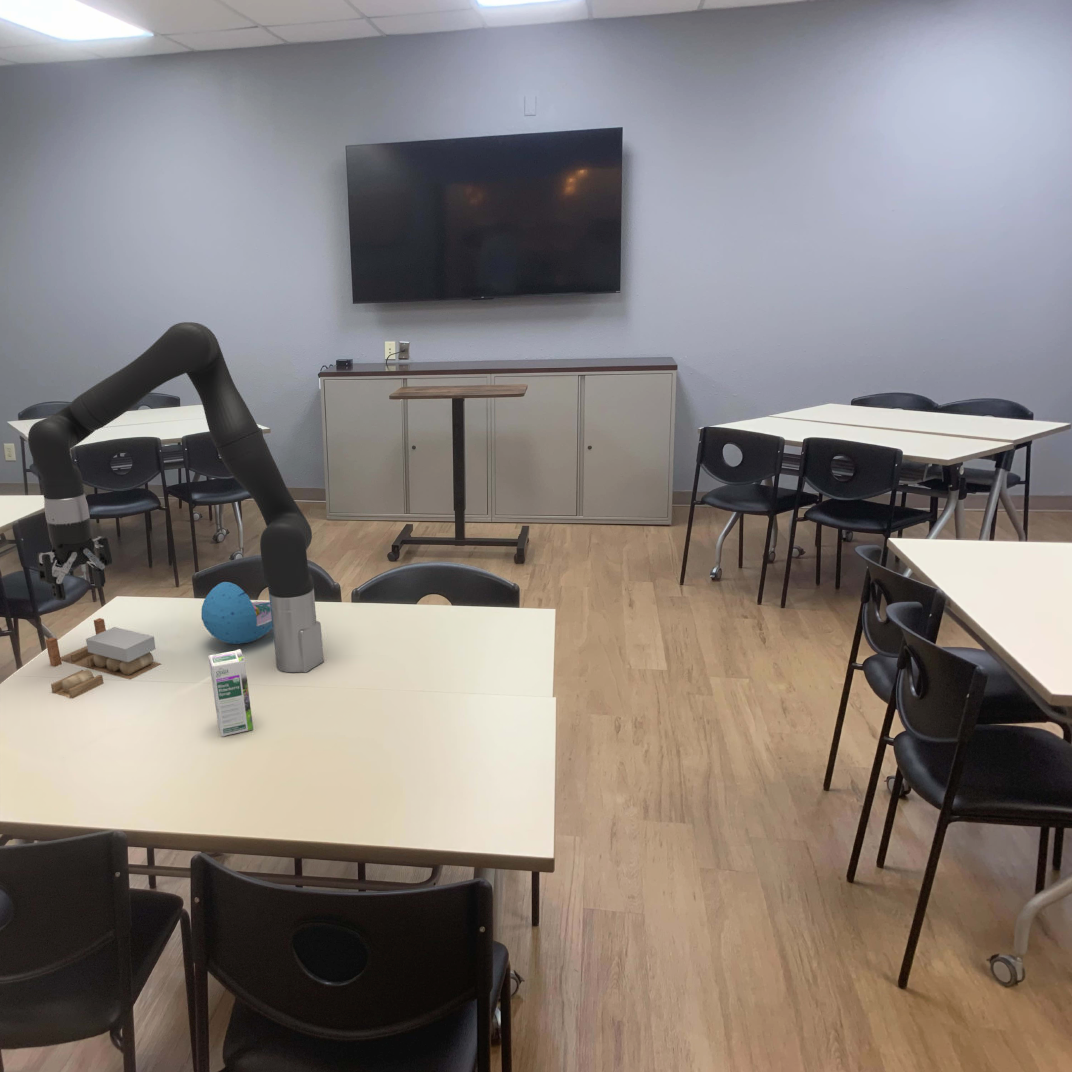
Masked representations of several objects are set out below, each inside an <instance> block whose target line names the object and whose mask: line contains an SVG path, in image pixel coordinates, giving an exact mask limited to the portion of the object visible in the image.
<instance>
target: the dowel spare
mask: <svg viewBox="0 0 1072 1072" xmlns="http://www.w3.org/2000/svg"><path fill="white" fill-rule="evenodd" d="M94 677H95V675H94V674H93V672H92V671H91V669H90V670H89V669H85V670H84V671H82V672H80V673H78V674H76V675H74V676H71V677H69V678H67V679H65V680H63V681H62V688H63V690H64V691H65V692H66V693H68V694H69V690H68V689H71V688H73V687H75V686H77V685H79V684H81V683H83V682H85V681H87V680H90V679H92V678H94Z"/></svg>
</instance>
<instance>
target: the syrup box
mask: <svg viewBox="0 0 1072 1072" xmlns="http://www.w3.org/2000/svg"><path fill="white" fill-rule="evenodd" d="M208 663H209V664H208V665H209V669H210V671H209V672H210V676H211V683H212V685H211V686H212V691H213V699H214V704H215V705H214V706H215V713H216V719H217V720H216V721H217V725H218V728H219V729H218V730H219V733H220V736H221V737H222V738H224V737H226V736H230V735H235V734H240V733H243V732H247V731H249V732H250V731H252V730H254V723H253V716H252V709H251V701H250V692H249V683H248V677H247V676H248V675H247V667H246V661H245V658H244V655H243V653H242V649H240V648H239V649H236V650H233V651H227V652H221V653H217V654H209V655H208Z"/></svg>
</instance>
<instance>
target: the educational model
mask: <svg viewBox="0 0 1072 1072" xmlns="http://www.w3.org/2000/svg"><path fill="white" fill-rule="evenodd" d="M201 605H202V606H201V620H202V623H203V626H204V627H205V629H206V630H207V631H208V633H210V635H211V636H212V637H214V638H215V639H217V640H219V641H221V642H224V643H227V644H231V645H233V644H234V645H235V644H236V645H237V644H238V645H240V644H241V645H242V644H246V643H247V644H248V643H252V642H254V641H256V640H258V639H259V638H261V637H263V636H264V635H266V634H267V633H268V632H270V630H272V629H273V628H272V619H271V609H270V601H256V600H255V601H253V602H252V600H251V598H250V597H249V595H248V594H247V593H245V591H244V590H243V589H242V588H241V587H240V586H238V585H237V584H235V583H232V582H229V581H223V582H222V581H221V582H220V583H218V584H217V585H216V586H214V587H213V588H212V589H211V590H210V591H209V592H208V594H207V595H206V597H205V599H204V601H203V603H202V604H201Z"/></svg>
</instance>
